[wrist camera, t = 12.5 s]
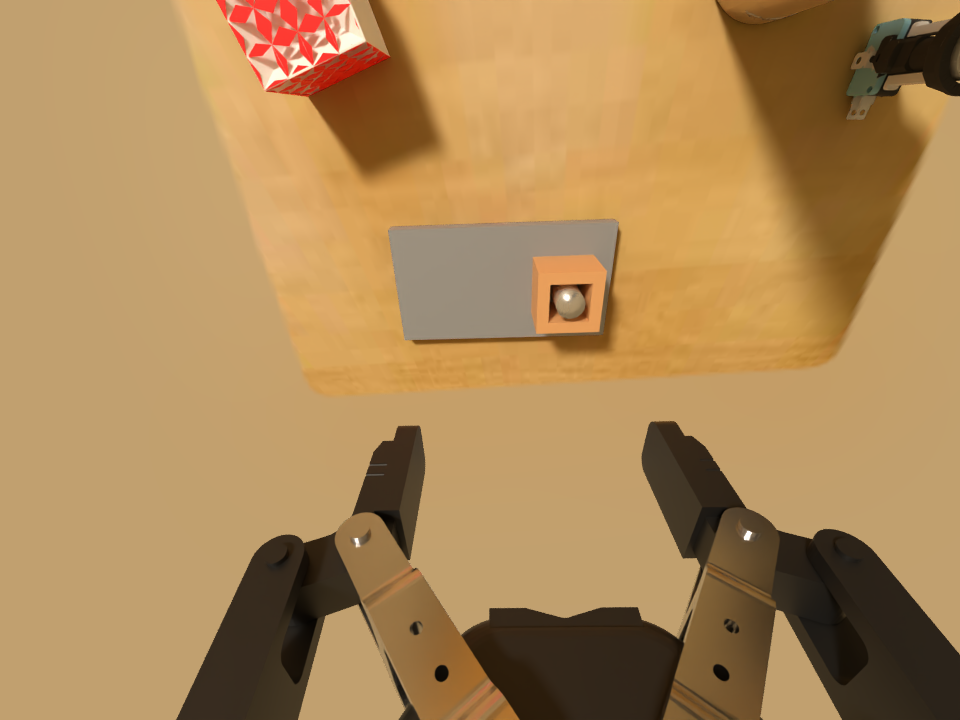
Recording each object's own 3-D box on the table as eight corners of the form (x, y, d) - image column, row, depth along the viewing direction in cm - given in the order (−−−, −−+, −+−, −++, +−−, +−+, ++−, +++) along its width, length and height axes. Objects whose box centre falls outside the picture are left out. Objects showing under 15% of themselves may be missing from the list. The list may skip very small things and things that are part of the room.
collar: (532, 256, 40) (538, 273, 35) (593, 254, 39) (607, 271, 35) (531, 312, 43) (536, 333, 38) (587, 310, 42) (599, 331, 38)
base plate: (391, 226, 40) (388, 230, 38) (614, 218, 39) (618, 222, 38) (406, 333, 46) (404, 340, 45) (599, 328, 45) (603, 334, 44)
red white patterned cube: (251, -21, 30) (184, -60, 24) (341, -71, 29) (297, -129, 22) (308, 97, 34) (265, 92, 28) (391, 58, 33) (366, 42, 26)
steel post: (547, 267, 42) (557, 292, 36) (572, 266, 42) (586, 291, 36) (546, 291, 43) (555, 319, 37) (570, 290, 43) (584, 318, 37)
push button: (874, 121, 35) (1002, 122, 26) (813, 117, 35) (922, 117, 26) (922, 22, 31) (1087, -15, 23) (855, 17, 31) (995, -21, 23)
